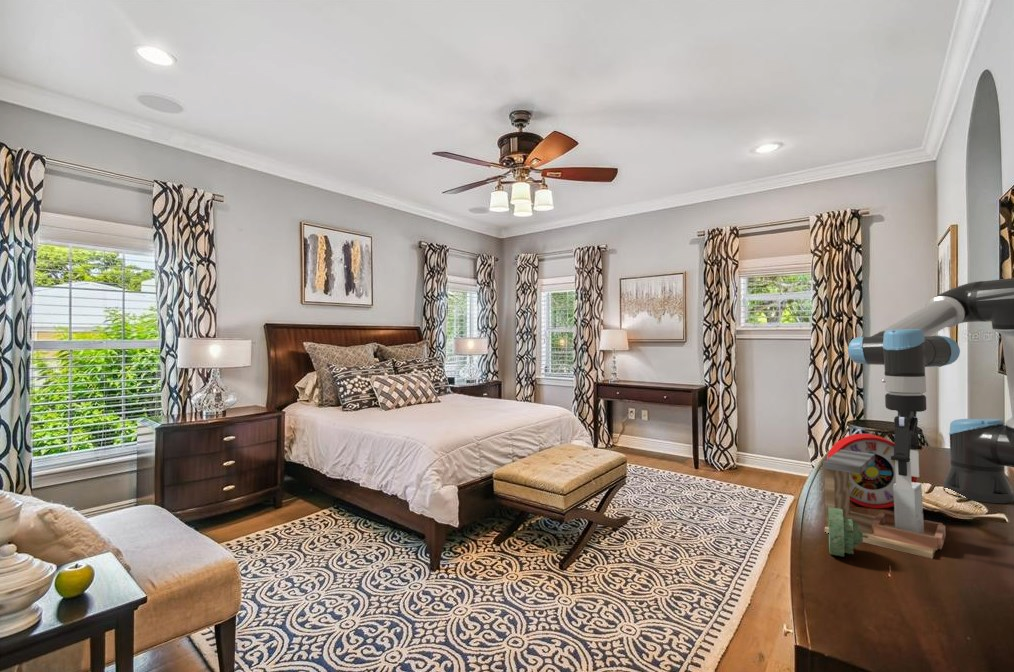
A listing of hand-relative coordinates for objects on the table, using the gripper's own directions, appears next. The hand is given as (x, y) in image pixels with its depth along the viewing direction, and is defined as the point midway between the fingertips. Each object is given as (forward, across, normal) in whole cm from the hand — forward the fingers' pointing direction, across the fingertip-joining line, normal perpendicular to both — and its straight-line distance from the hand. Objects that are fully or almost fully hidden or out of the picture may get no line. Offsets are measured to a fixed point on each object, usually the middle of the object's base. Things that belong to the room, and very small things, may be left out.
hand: (908, 482), depth 113 cm
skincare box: (+13, 0, 0) cm, 13 cm away
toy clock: (+14, -22, -11) cm, 29 cm away
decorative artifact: (+14, +20, -8) cm, 26 cm away
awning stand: (+14, +1, -5) cm, 14 cm away
